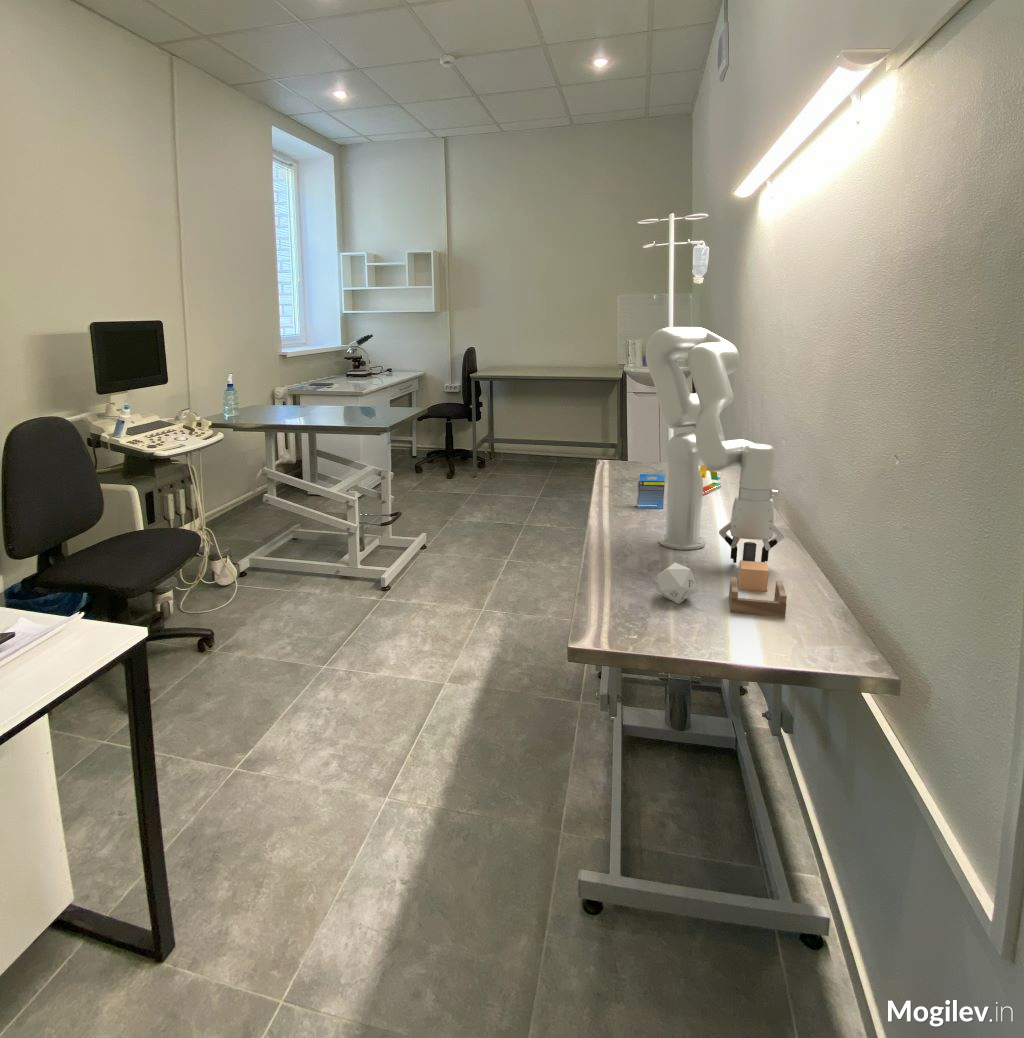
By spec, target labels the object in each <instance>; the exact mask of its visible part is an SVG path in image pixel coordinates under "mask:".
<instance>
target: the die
mask: <svg viewBox="0 0 1024 1038" xmlns="http://www.w3.org/2000/svg"><path fill="white" fill-rule="evenodd" d="M656 579H657V582H658V583H657V584H658V588H659V592H660V594H661V595H662V597H663V598H665V599H667V600H670V601H672V602H673V603H675V604H677V605H679V604H681V603H682V602H684V601H685V600H686V599H688V598H689V597H690V596H693V594H695V593H697V592H698V588H697V584H696V581H695V578H694V574H693V571H692V569H691V568H689V567H686V566H684V565H682V564H680V563H677V562H673V563H672V564H670V565H669V566H668V567H666V568H664V570H662V571H661V572H659V573H658V574H657V575H656Z"/></svg>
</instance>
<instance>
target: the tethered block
mask: <svg viewBox="0 0 1024 1038" xmlns="http://www.w3.org/2000/svg"><path fill="white" fill-rule="evenodd" d="M742 549H743V551H742V560H739V566H738V579H737V583H738V590H748V591H761V592H768V585H769V584H768V583H769V577H770V576H769V574H770V570H769V566H768V562H767V561H765V562H761V561H756V553H757V543H755V542H753V541H746V542H743V548H742Z"/></svg>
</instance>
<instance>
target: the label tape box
mask: <svg viewBox="0 0 1024 1038" xmlns="http://www.w3.org/2000/svg"><path fill="white" fill-rule="evenodd" d="M665 475H666V474H665V473H639V474H638V482H637V485H636V486H637V487H636V488H637V490H636V492H637V493H636V507H637V509H664V502H665V501H664V500H665V488H666V487H665V485H666V480H665V478H666V476H665ZM651 477H652V478H651ZM637 504H638V505H657V506H638V505H637Z"/></svg>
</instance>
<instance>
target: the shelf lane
mask: <svg viewBox="0 0 1024 1038" xmlns="http://www.w3.org/2000/svg"><path fill="white" fill-rule="evenodd" d="M774 588H775V589H774V598H773V600H766V599H765V600H764V599H757V598H756V599H755V598H744V597H739V587H738V579H737V577H735V576H730V579H729V589H728V590H729V592H728V598H729V607H730V608H729V610H730V613H732V614H743V615H751V616H752V615H755V616H764V617H765V616H766V617H773V618H774V617H776V618H786V610H787V598H788V597H787V593H786V590H785V587H784V583H783V581H782V580H775V587H774Z"/></svg>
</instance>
